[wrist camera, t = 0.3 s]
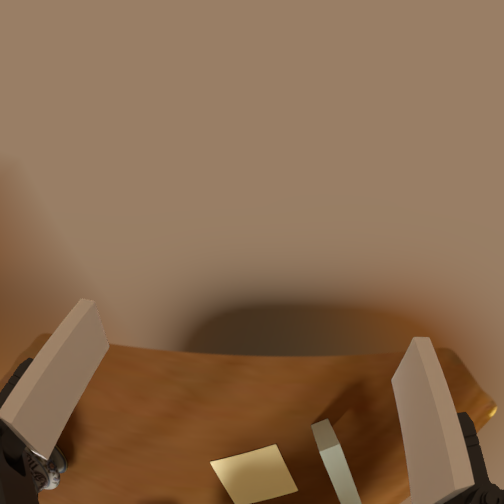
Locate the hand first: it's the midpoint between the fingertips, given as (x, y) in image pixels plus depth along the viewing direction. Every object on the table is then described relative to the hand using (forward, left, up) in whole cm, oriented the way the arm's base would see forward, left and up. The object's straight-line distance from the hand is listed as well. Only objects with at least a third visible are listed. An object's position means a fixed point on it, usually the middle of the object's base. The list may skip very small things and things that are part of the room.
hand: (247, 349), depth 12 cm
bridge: (-30, -2, -35) cm, 46 cm away
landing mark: (-30, +12, -35) cm, 48 cm away
